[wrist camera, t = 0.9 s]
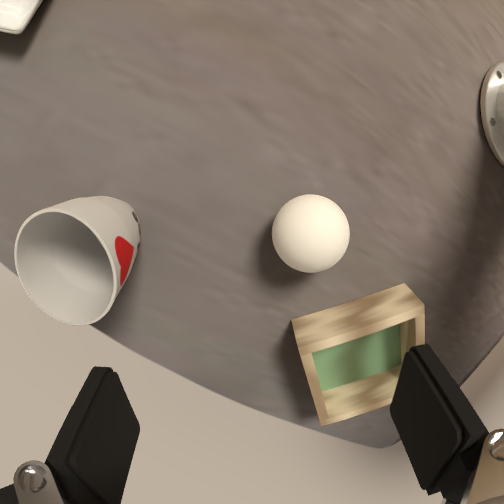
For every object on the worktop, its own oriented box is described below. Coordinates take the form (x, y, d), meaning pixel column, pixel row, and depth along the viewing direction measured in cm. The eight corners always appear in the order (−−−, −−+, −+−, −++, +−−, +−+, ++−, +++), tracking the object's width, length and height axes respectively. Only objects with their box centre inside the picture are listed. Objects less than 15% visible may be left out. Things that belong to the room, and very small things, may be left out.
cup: (134, 282, 29) (95, 345, 20) (65, 240, 28) (6, 286, 18) (172, 209, 27) (136, 251, 18) (95, 165, 25) (30, 185, 16)
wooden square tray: (404, 282, 30) (424, 304, 26) (408, 366, 34) (422, 390, 30) (291, 319, 31) (297, 347, 27) (314, 398, 35) (321, 426, 31)
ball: (328, 180, 26) (350, 193, 21) (343, 244, 28) (366, 271, 23) (260, 200, 27) (264, 218, 21) (279, 263, 29) (288, 296, 23)
